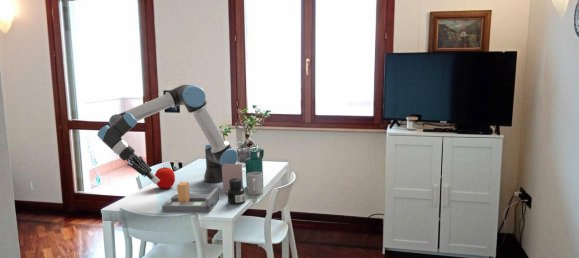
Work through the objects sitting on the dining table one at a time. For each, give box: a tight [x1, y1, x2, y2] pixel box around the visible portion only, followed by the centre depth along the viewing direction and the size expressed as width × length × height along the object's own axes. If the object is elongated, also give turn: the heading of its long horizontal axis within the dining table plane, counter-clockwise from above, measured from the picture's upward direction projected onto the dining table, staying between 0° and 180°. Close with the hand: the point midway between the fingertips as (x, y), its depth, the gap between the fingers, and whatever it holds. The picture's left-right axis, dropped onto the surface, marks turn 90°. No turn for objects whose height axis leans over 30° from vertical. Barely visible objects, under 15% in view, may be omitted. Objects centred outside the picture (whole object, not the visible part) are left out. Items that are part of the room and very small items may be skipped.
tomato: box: [154, 166, 176, 189], centre depth 270 cm, size 12×12×13 cm
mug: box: [246, 172, 264, 196], centre depth 253 cm, size 12×8×11 cm
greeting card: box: [222, 163, 244, 193], centre depth 260 cm, size 11×7×15 cm, turn 74°
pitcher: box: [244, 148, 265, 186], centre depth 266 cm, size 10×8×22 cm
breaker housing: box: [161, 187, 221, 213], centre depth 236 cm, size 24×20×6 cm
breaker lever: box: [176, 181, 190, 202], centre depth 235 cm, size 4×6×10 cm, turn 175°
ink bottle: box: [227, 178, 246, 205], centre depth 239 cm, size 10×9×12 cm
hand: (157, 182), depth 235 cm, fingers closed
